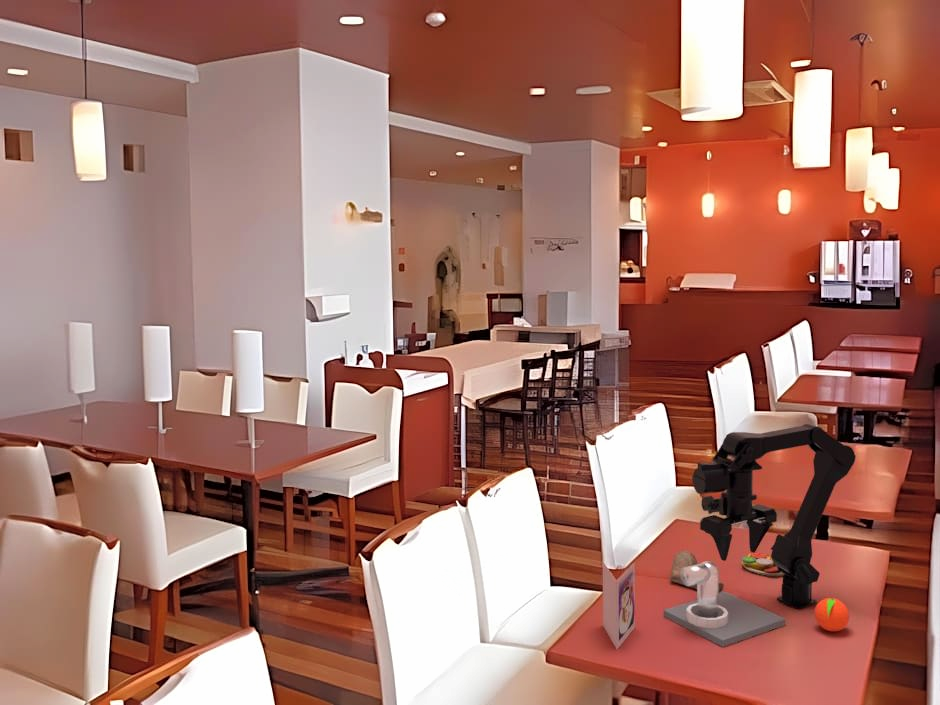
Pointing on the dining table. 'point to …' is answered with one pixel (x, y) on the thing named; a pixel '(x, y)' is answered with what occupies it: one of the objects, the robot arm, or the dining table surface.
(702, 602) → the chrome ball-end rod
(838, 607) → the clementine
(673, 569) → the pipe
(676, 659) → the dining table surface
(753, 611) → the duct flange
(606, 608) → the greeting card
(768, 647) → the dining table surface
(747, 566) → the toy food set
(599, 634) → the dining table surface
